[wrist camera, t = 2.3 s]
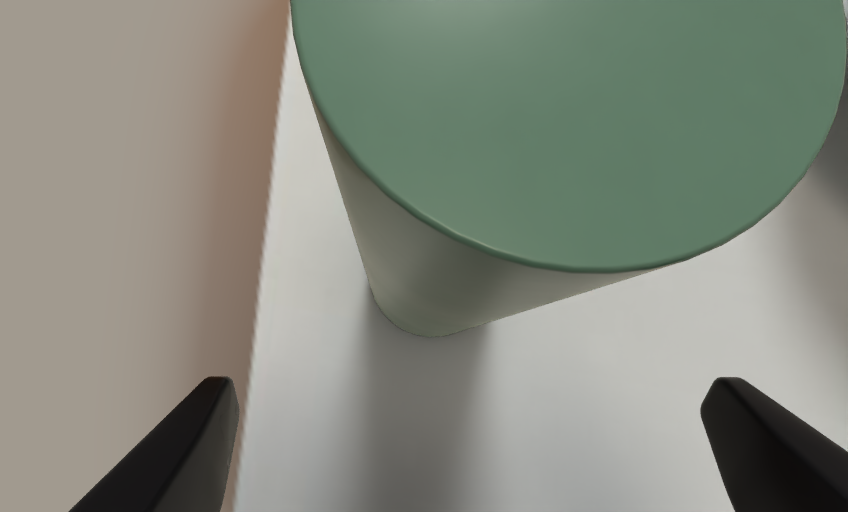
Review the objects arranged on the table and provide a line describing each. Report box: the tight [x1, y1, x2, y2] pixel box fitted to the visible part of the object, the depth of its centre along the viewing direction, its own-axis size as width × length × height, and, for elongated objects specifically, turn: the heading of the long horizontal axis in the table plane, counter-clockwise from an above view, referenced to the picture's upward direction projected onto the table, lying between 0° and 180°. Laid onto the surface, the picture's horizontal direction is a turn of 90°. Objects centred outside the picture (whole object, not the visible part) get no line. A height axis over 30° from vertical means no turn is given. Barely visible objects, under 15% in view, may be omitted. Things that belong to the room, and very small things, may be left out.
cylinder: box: [290, 0, 847, 337], centre depth 13 cm, size 5×5×17 cm
